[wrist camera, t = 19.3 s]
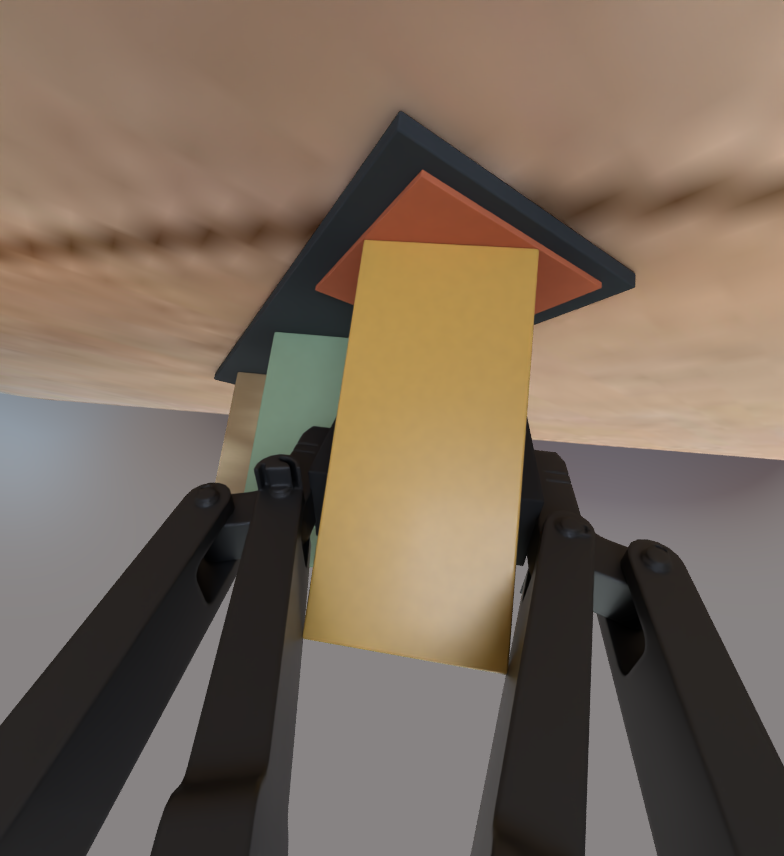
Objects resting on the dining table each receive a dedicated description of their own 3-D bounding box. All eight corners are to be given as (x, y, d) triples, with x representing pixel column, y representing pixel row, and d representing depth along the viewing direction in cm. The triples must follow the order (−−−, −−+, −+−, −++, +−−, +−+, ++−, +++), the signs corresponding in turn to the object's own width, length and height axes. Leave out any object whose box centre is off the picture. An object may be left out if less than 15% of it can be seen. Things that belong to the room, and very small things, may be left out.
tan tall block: (266, 390, 34) (241, 523, 32) (237, 371, 29) (205, 527, 27) (323, 396, 33) (301, 532, 31) (304, 377, 28) (276, 537, 26)
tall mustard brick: (384, 317, 17) (345, 593, 15) (363, 238, 12) (301, 639, 10) (506, 326, 16) (482, 616, 14) (539, 247, 11) (508, 676, 9)
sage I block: (305, 365, 25) (274, 544, 24) (273, 331, 20) (231, 555, 19) (383, 372, 25) (358, 556, 23) (370, 339, 20) (337, 571, 18)
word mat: (320, 399, 37) (318, 406, 37) (215, 373, 32) (213, 381, 32) (635, 273, 13) (635, 293, 13) (400, 108, 8) (395, 136, 8)
